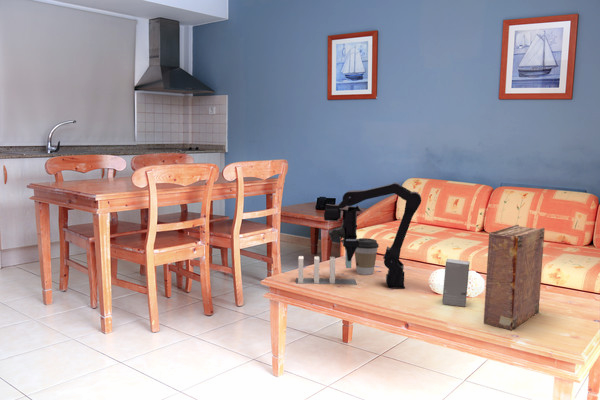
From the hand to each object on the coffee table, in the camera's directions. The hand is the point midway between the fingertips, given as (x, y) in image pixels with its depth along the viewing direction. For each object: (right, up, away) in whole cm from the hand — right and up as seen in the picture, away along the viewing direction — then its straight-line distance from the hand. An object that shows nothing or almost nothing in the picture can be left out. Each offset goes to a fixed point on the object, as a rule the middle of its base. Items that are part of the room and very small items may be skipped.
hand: (348, 259), depth 216 cm
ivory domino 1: (-13, -9, +1) cm, 16 cm away
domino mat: (-9, -10, +2) cm, 13 cm away
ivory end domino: (-20, -9, +1) cm, 22 cm away
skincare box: (+37, -14, -24) cm, 46 cm away
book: (+52, -16, -39) cm, 66 cm away
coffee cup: (+9, -8, +17) cm, 21 cm away
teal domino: (0, -3, 0) cm, 3 cm away
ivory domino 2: (-7, -9, +1) cm, 12 cm away
